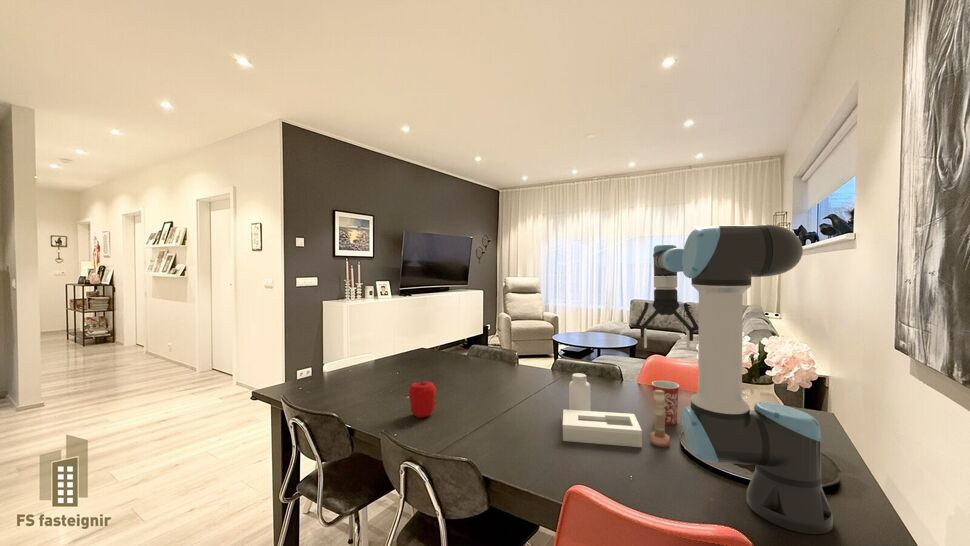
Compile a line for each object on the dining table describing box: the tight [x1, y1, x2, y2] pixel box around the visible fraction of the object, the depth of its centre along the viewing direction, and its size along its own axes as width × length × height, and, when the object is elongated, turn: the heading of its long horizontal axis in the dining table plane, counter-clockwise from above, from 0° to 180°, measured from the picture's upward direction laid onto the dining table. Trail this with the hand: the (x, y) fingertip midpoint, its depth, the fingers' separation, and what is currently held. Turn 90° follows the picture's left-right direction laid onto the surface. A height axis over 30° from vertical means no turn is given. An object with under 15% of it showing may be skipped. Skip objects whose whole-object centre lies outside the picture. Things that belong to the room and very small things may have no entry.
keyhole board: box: [562, 408, 643, 448], centre depth 127 cm, size 14×24×5 cm, turn 77°
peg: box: [649, 390, 671, 448], centre depth 120 cm, size 6×6×16 cm
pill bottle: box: [568, 372, 592, 411], centre depth 146 cm, size 8×8×15 cm
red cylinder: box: [408, 380, 437, 419], centre depth 146 cm, size 10×10×14 cm
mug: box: [651, 380, 680, 426], centre depth 139 cm, size 13×9×14 cm
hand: (666, 348), depth 134 cm, fingers open, 13 cm apart
